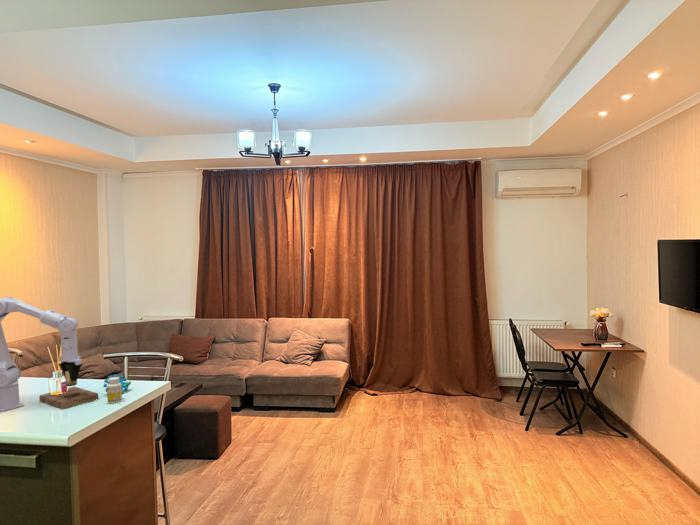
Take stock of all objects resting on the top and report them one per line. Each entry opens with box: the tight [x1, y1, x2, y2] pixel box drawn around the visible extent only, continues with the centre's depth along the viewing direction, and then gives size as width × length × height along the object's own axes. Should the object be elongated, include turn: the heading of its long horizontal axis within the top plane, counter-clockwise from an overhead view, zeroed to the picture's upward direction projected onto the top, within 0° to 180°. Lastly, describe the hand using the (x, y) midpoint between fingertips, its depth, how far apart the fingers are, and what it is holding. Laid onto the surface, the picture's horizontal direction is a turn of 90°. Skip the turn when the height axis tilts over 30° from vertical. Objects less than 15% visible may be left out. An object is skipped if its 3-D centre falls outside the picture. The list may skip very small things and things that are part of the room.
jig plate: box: [38, 386, 99, 410], centre depth 199 cm, size 20×14×2 cm
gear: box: [102, 374, 132, 394], centre depth 208 cm, size 11×6×10 cm
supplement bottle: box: [106, 376, 123, 404], centre depth 195 cm, size 5×5×10 cm
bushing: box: [64, 370, 78, 387], centre depth 197 cm, size 4×4×6 cm
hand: (71, 380), depth 197 cm, fingers closed on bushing, 4 cm apart
